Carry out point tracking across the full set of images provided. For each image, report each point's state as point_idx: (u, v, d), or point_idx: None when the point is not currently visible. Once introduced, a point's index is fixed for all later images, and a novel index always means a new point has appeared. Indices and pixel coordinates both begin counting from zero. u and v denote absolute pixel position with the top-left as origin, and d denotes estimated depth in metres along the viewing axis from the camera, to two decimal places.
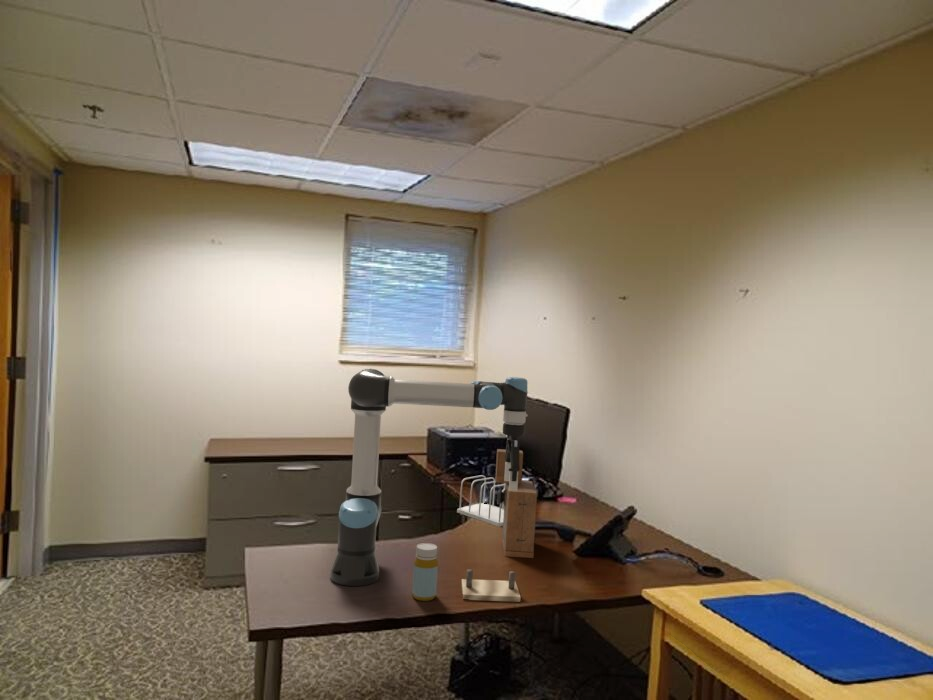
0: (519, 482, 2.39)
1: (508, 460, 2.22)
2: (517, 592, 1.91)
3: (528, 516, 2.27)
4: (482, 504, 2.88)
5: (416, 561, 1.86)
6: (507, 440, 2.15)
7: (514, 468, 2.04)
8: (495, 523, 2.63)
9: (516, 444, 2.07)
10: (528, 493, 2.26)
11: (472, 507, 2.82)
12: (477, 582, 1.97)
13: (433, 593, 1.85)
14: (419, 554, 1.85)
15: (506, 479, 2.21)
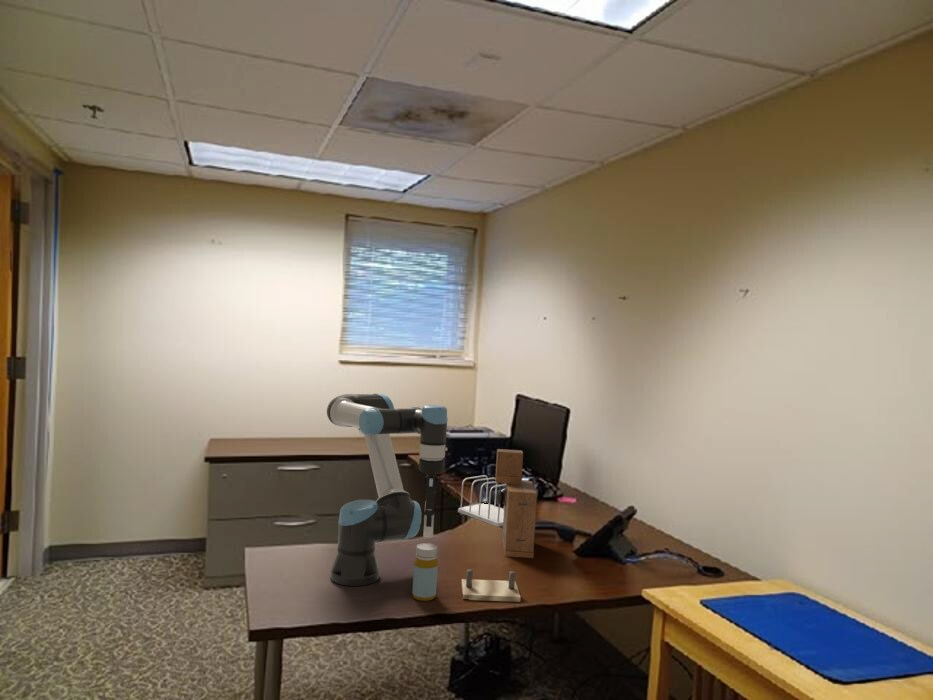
0: (519, 482, 2.39)
1: None
2: (517, 592, 1.91)
3: (528, 516, 2.27)
4: (484, 504, 2.88)
5: (416, 561, 1.86)
6: (424, 477, 1.87)
7: (428, 512, 1.77)
8: (494, 523, 2.63)
9: (431, 483, 1.80)
10: (528, 493, 2.26)
11: (473, 507, 2.83)
12: (477, 582, 1.97)
13: (433, 593, 1.85)
14: (419, 554, 1.85)
15: None
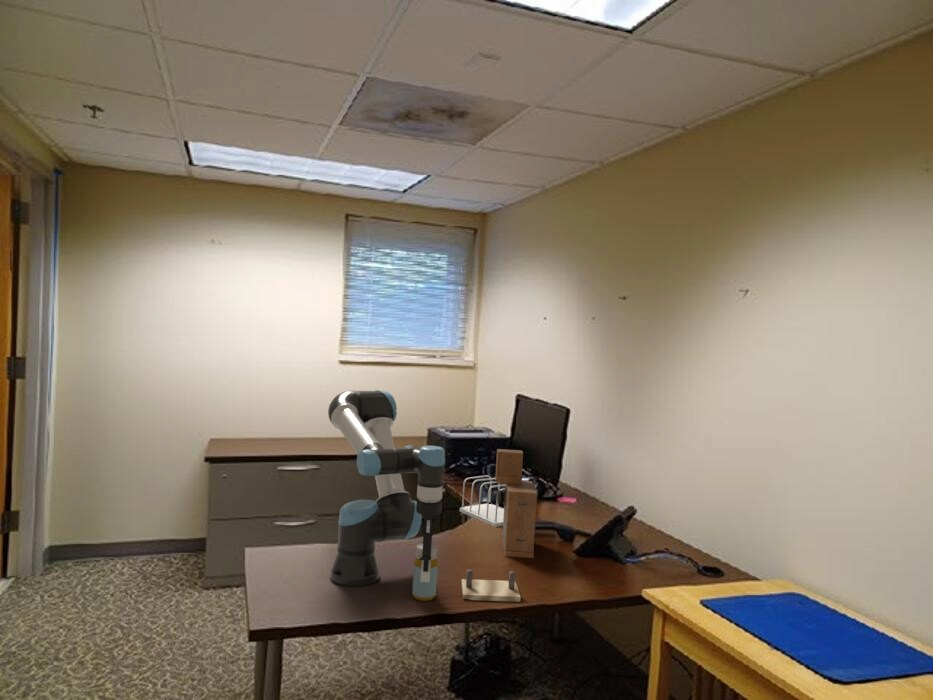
0: (519, 482, 2.39)
1: None
2: (517, 592, 1.91)
3: (528, 516, 2.27)
4: None
5: (416, 561, 1.85)
6: (422, 518, 1.88)
7: (424, 558, 1.80)
8: (491, 523, 2.63)
9: (428, 530, 1.80)
10: (528, 493, 2.26)
11: (475, 507, 2.83)
12: (477, 582, 1.97)
13: (433, 593, 1.85)
14: (419, 554, 1.85)
15: None
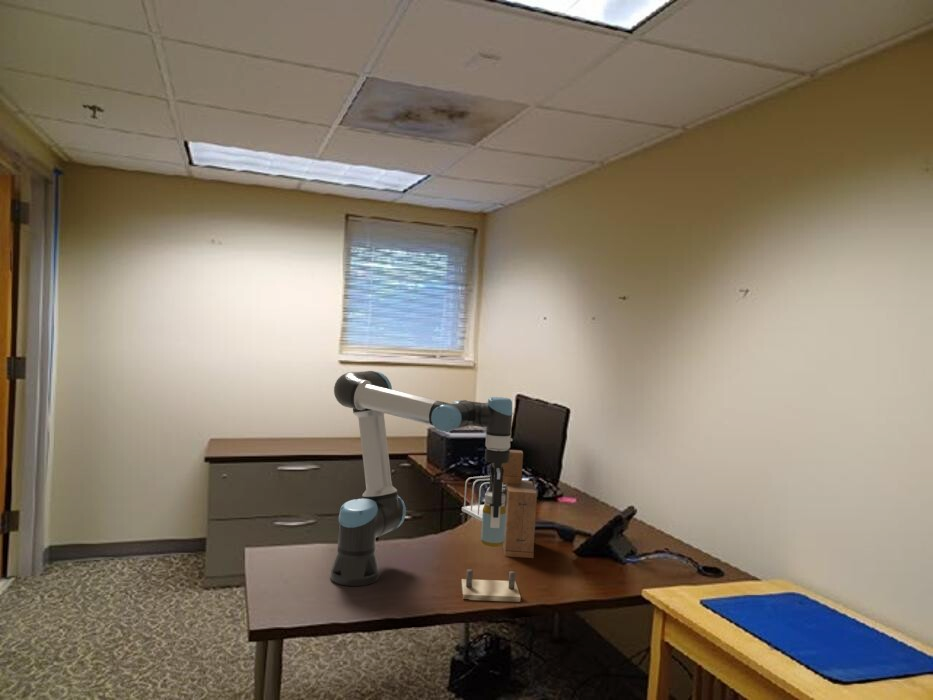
0: (519, 482, 2.39)
1: None
2: (517, 592, 1.91)
3: (528, 516, 2.27)
4: None
5: (485, 508, 1.91)
6: (490, 467, 1.93)
7: (495, 503, 1.86)
8: None
9: (499, 477, 1.86)
10: (528, 493, 2.26)
11: (478, 507, 2.84)
12: (477, 582, 1.97)
13: (502, 539, 1.91)
14: (488, 501, 1.90)
15: None
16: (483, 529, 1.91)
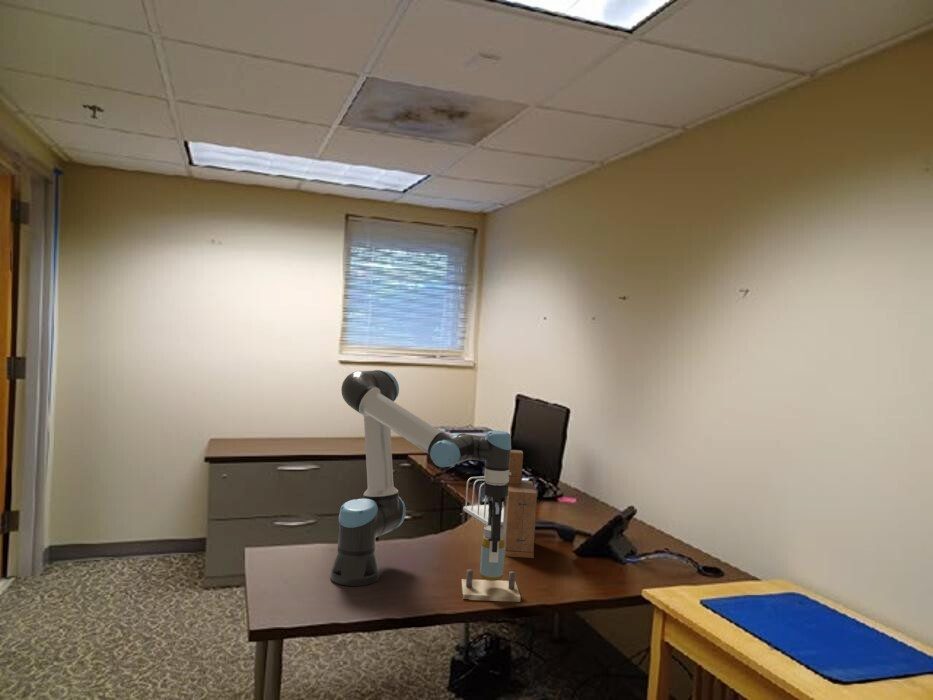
0: (519, 482, 2.39)
1: None
2: (517, 592, 1.91)
3: (528, 516, 2.27)
4: None
5: (484, 542, 1.91)
6: (489, 500, 1.94)
7: (494, 538, 1.86)
8: (487, 523, 2.63)
9: (497, 512, 1.86)
10: (528, 493, 2.26)
11: (480, 507, 2.84)
12: (477, 582, 1.97)
13: (501, 573, 1.91)
14: (487, 535, 1.91)
15: None
16: (482, 563, 1.92)
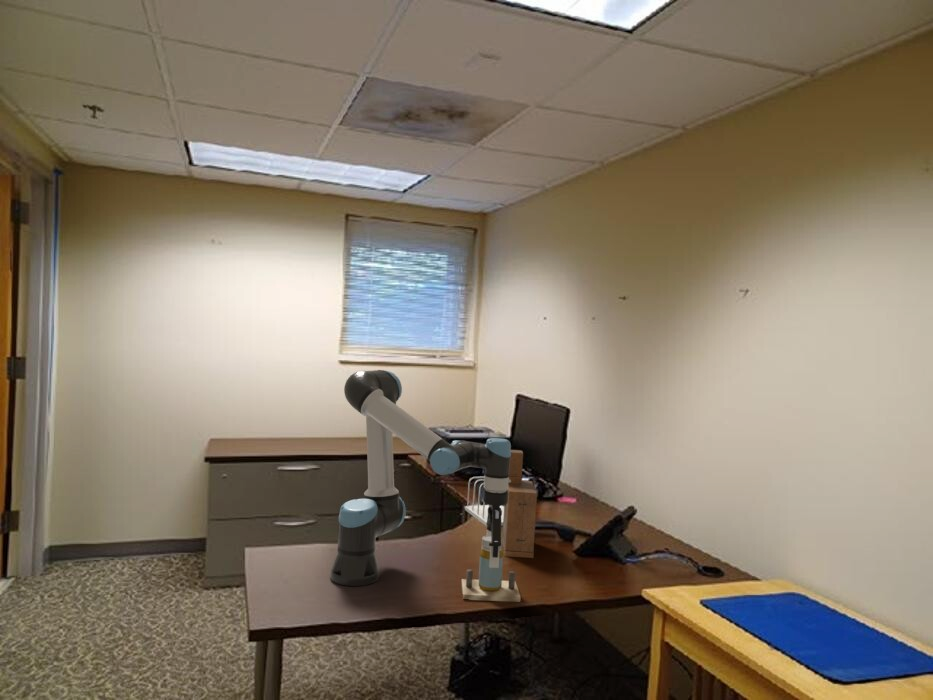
0: (519, 482, 2.39)
1: (490, 528, 2.00)
2: (517, 592, 1.91)
3: (528, 516, 2.27)
4: None
5: (482, 553, 1.92)
6: (488, 508, 1.94)
7: (495, 544, 1.83)
8: (485, 523, 2.63)
9: (497, 516, 1.86)
10: (528, 493, 2.26)
11: (481, 507, 2.84)
12: (477, 582, 1.97)
13: (499, 583, 1.91)
14: (485, 546, 1.91)
15: None
16: (480, 574, 1.92)
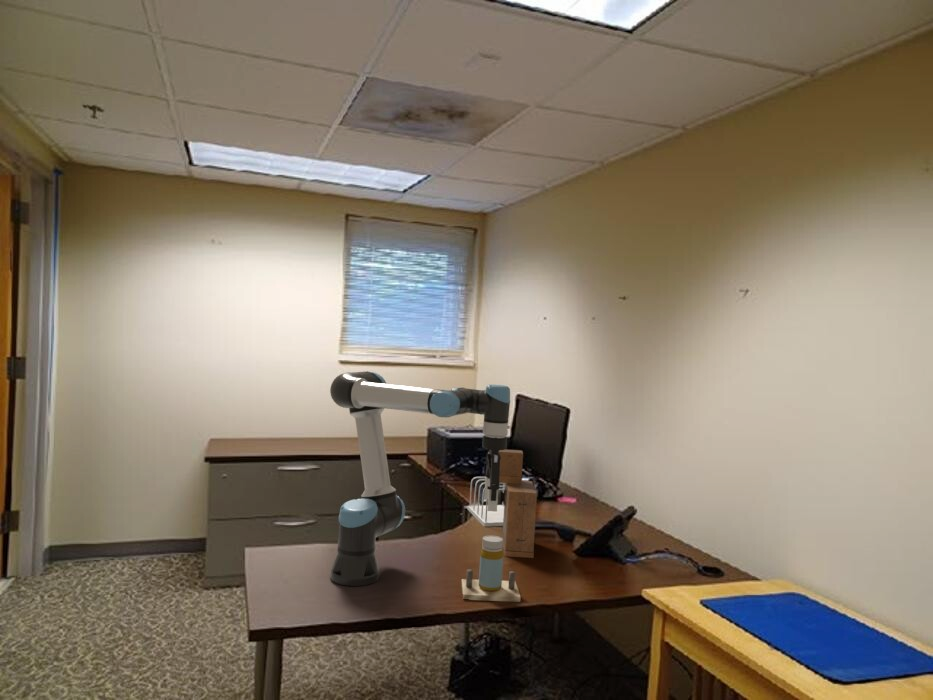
0: (519, 482, 2.39)
1: (489, 476, 2.01)
2: (517, 592, 1.91)
3: (528, 516, 2.27)
4: (499, 506, 2.87)
5: (483, 553, 1.92)
6: (487, 454, 1.94)
7: (493, 486, 1.84)
8: (482, 523, 2.63)
9: (496, 459, 1.87)
10: (528, 493, 2.26)
11: (484, 507, 2.84)
12: (477, 582, 1.97)
13: (499, 584, 1.91)
14: (486, 546, 1.91)
15: (486, 497, 2.00)
16: (480, 574, 1.92)
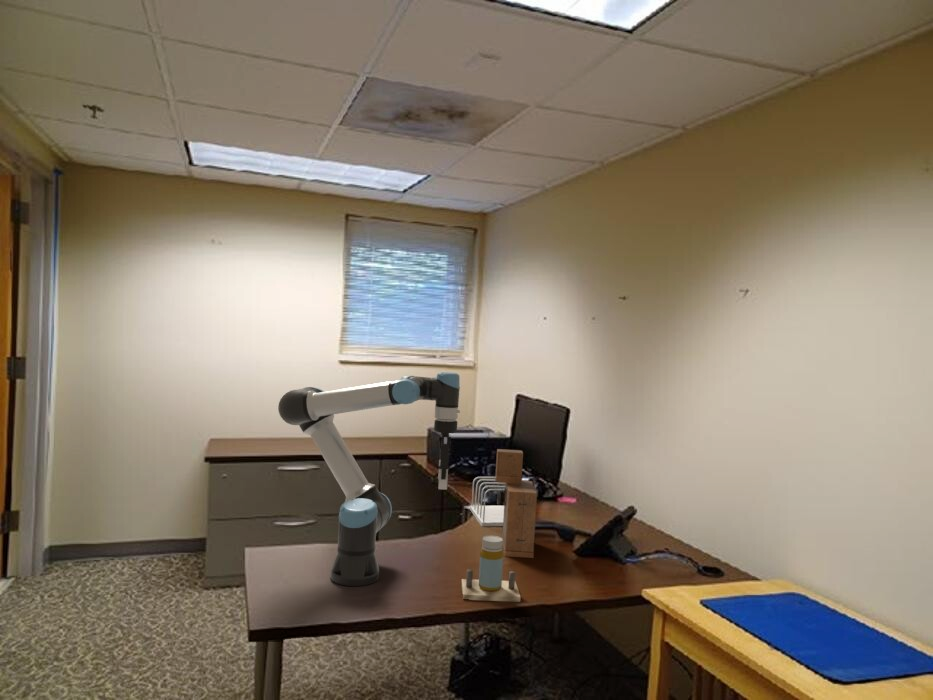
0: (519, 482, 2.39)
1: None
2: (517, 592, 1.91)
3: (528, 516, 2.27)
4: (502, 506, 2.86)
5: (483, 553, 1.91)
6: (439, 437, 2.08)
7: (442, 466, 1.98)
8: (480, 522, 2.63)
9: (446, 441, 2.01)
10: (528, 493, 2.26)
11: (486, 507, 2.84)
12: (477, 582, 1.97)
13: (499, 584, 1.91)
14: (486, 546, 1.91)
15: None
16: (480, 574, 1.92)
